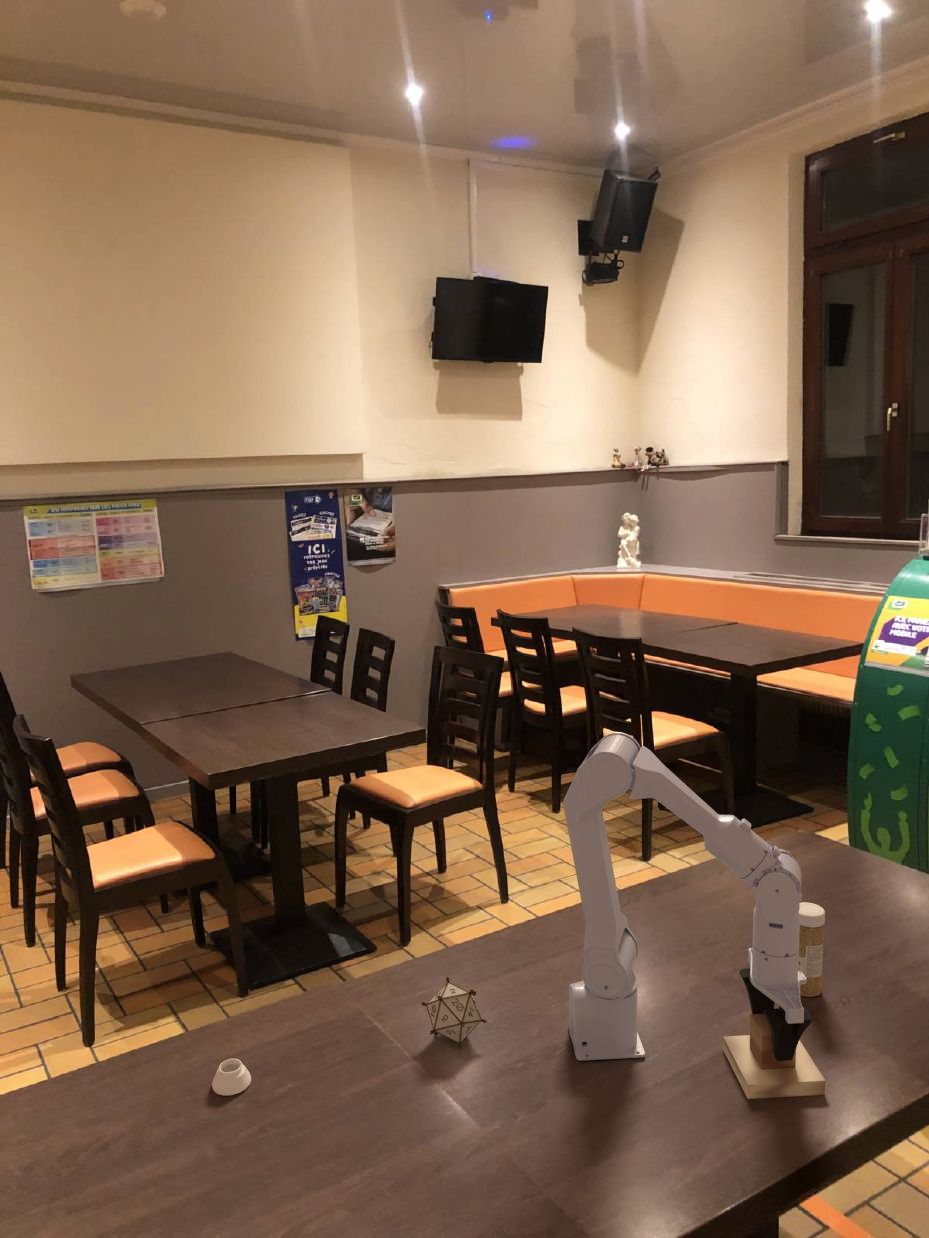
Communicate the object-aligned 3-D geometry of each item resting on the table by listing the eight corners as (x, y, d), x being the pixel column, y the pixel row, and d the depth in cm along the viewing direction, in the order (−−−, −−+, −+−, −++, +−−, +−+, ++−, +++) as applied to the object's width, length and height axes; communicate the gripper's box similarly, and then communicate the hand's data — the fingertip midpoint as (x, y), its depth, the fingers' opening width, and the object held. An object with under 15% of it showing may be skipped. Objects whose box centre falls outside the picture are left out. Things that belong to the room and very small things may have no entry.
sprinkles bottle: (785, 982, 144) (787, 902, 141) (813, 980, 144) (816, 899, 142) (798, 999, 139) (801, 916, 137) (827, 997, 140) (831, 914, 137)
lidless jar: (205, 1093, 123) (237, 1101, 121) (203, 1073, 123) (235, 1081, 121) (227, 1069, 128) (258, 1077, 126) (225, 1050, 127) (256, 1057, 125)
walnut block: (761, 1069, 121) (762, 1034, 120) (749, 1047, 125) (750, 1014, 124) (795, 1067, 121) (796, 1032, 120) (782, 1046, 125) (783, 1012, 125)
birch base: (747, 1098, 118) (748, 1084, 118) (723, 1049, 128) (723, 1036, 128) (824, 1094, 119) (825, 1080, 118) (794, 1045, 129) (794, 1032, 128)
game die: (469, 1058, 134) (509, 1012, 131) (429, 1067, 128) (470, 1019, 125) (438, 1005, 140) (476, 960, 137) (399, 1011, 133) (437, 964, 131)
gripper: (829, 974, 113) (825, 1074, 116) (784, 916, 128) (781, 1006, 130) (772, 977, 113) (769, 1077, 116) (734, 919, 127) (732, 1009, 130)
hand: (772, 1040), depth 123 cm, fingers open, 7 cm apart
